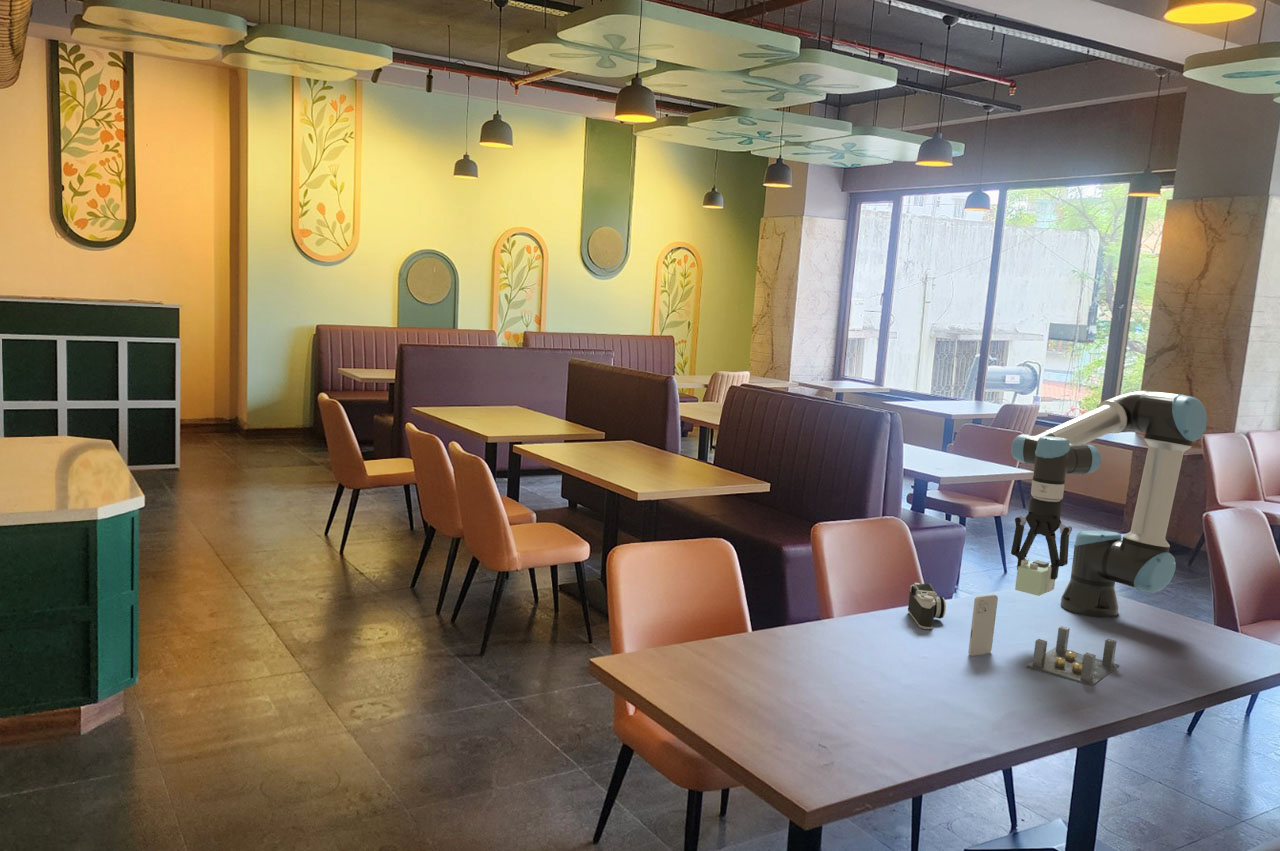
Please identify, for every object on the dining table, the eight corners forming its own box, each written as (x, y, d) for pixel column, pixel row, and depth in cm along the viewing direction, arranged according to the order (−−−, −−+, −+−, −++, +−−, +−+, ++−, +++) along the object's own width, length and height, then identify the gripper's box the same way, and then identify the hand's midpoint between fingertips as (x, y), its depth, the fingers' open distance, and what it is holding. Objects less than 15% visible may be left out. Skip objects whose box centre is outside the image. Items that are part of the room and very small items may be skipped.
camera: (951, 631, 257) (955, 594, 255) (917, 628, 257) (921, 592, 256) (935, 612, 273) (939, 577, 271) (904, 609, 273) (907, 574, 272)
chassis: (1055, 651, 246) (1058, 624, 245) (1118, 669, 236) (1122, 641, 235) (1026, 669, 232) (1029, 640, 231) (1091, 689, 222) (1096, 659, 221)
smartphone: (989, 652, 243) (996, 593, 240) (992, 653, 242) (999, 595, 240) (967, 655, 239) (974, 596, 237) (971, 657, 238) (978, 597, 236)
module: (1030, 583, 254) (1033, 557, 254) (1054, 589, 250) (1057, 562, 249) (1015, 589, 247) (1018, 562, 246) (1038, 595, 243) (1042, 568, 242)
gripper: (1003, 492, 249) (992, 580, 252) (1079, 507, 237) (1067, 600, 240) (1015, 489, 255) (1004, 576, 258) (1090, 504, 242) (1078, 594, 245)
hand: (1035, 587), depth 249 cm, fingers closed on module, 6 cm apart
